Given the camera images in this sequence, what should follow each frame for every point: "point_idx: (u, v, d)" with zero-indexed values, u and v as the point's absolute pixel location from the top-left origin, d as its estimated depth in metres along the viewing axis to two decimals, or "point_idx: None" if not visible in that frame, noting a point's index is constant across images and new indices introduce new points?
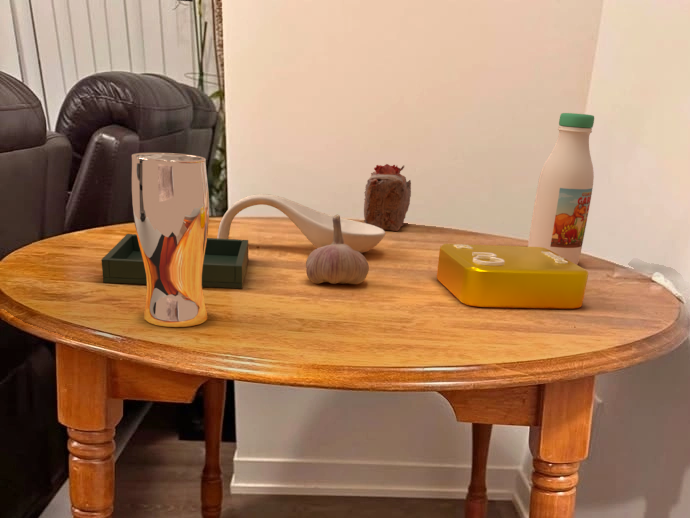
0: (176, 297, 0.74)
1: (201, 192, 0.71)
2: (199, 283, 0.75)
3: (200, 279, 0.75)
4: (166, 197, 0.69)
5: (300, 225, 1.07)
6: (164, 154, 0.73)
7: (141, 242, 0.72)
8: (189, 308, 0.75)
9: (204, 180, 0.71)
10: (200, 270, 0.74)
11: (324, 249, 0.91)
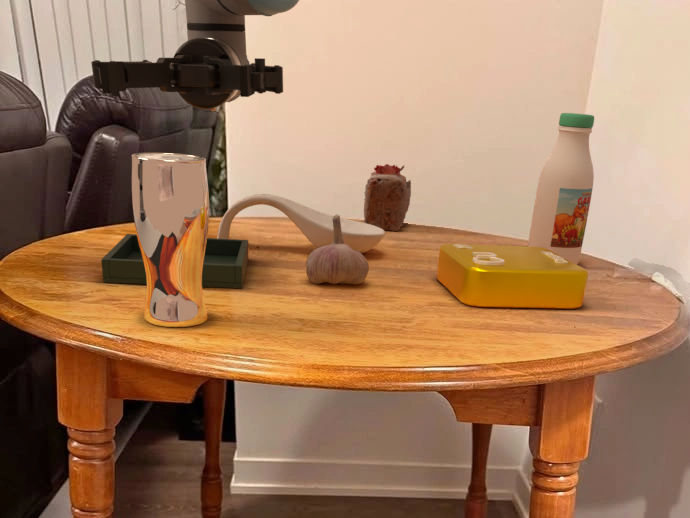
0: (176, 297, 0.74)
1: (201, 192, 0.71)
2: (199, 283, 0.75)
3: (200, 279, 0.75)
4: (166, 197, 0.69)
5: (300, 225, 1.07)
6: (164, 154, 0.73)
7: (141, 242, 0.72)
8: (189, 308, 0.75)
9: (204, 180, 0.71)
10: (200, 270, 0.74)
11: (324, 249, 0.91)
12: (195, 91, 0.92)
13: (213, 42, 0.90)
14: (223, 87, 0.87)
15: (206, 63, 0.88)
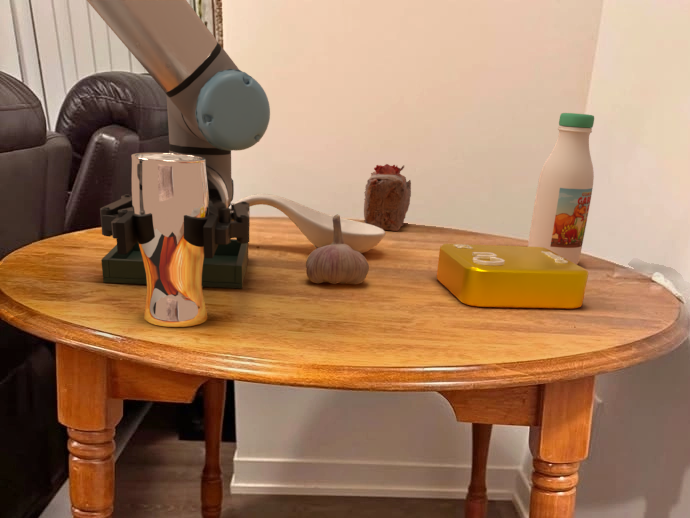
0: (176, 297, 0.74)
1: (201, 192, 0.71)
2: (199, 283, 0.75)
3: (200, 279, 0.75)
4: (166, 197, 0.69)
5: (300, 225, 1.07)
6: (164, 154, 0.73)
7: (141, 242, 0.72)
8: (189, 308, 0.75)
9: (204, 180, 0.71)
10: (200, 270, 0.74)
11: (324, 249, 0.91)
12: None
13: None
14: None
15: None
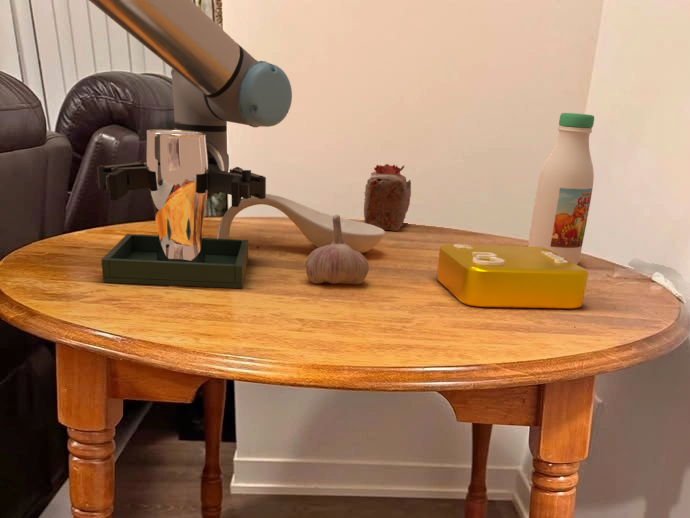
0: (182, 246, 0.92)
1: (202, 160, 0.89)
2: (200, 235, 0.93)
3: (201, 232, 0.93)
4: (174, 164, 0.87)
5: (300, 225, 1.07)
6: (172, 131, 0.91)
7: (154, 201, 0.90)
8: (192, 255, 0.93)
9: (204, 151, 0.89)
10: (201, 224, 0.93)
11: (324, 249, 0.91)
12: None
13: None
14: (211, 189, 0.99)
15: None
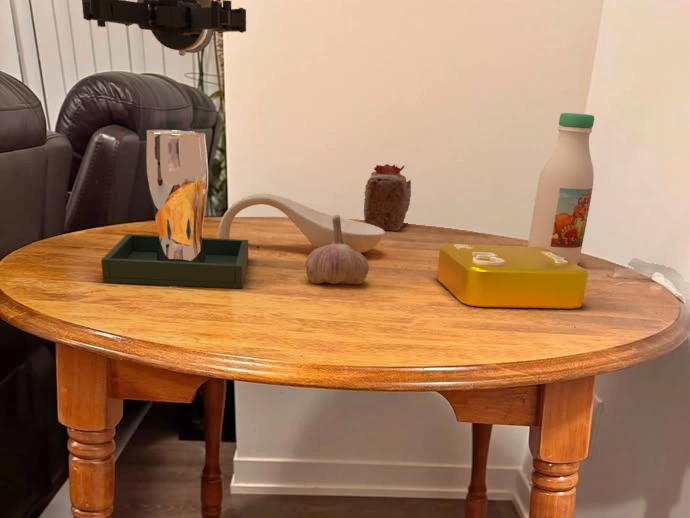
0: (182, 246, 0.92)
1: (202, 160, 0.89)
2: (200, 235, 0.93)
3: (201, 232, 0.93)
4: (174, 164, 0.87)
5: (300, 225, 1.07)
6: (172, 131, 0.91)
7: (154, 201, 0.90)
8: (192, 255, 0.93)
9: (204, 151, 0.89)
10: (201, 224, 0.93)
11: (324, 249, 0.91)
12: (168, 33, 1.07)
13: None
14: (194, 27, 1.02)
15: (179, 7, 1.03)
